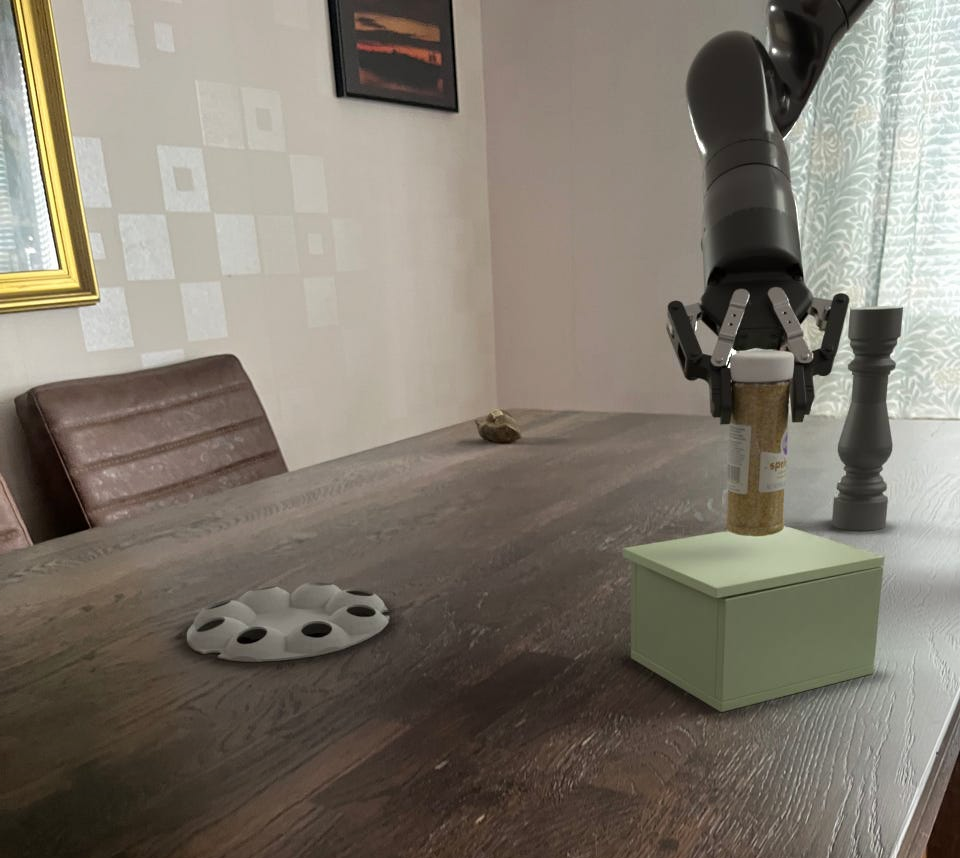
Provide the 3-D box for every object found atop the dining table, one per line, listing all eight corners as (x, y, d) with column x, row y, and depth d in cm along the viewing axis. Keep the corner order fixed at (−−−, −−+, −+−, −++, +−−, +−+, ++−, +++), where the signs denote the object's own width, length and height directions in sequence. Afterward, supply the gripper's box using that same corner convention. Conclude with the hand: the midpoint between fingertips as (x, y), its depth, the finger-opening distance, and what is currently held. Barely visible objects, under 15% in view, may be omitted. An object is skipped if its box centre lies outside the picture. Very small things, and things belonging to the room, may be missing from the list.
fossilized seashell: (464, 427, 193) (487, 443, 185) (481, 397, 192) (505, 411, 184) (493, 443, 197) (517, 459, 190) (510, 413, 196) (534, 427, 188)
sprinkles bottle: (787, 537, 76) (798, 354, 71) (725, 538, 76) (732, 356, 72) (780, 522, 80) (790, 348, 75) (721, 523, 81) (727, 350, 76)
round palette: (424, 630, 94) (422, 610, 93) (219, 679, 85) (215, 657, 84) (344, 581, 110) (342, 564, 109) (164, 618, 101) (161, 599, 101)
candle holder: (880, 532, 117) (900, 308, 108) (825, 528, 120) (841, 310, 112) (890, 520, 122) (910, 305, 113) (838, 516, 125) (854, 306, 117)
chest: (721, 712, 74) (725, 599, 71) (630, 658, 85) (630, 558, 82) (873, 673, 79) (883, 566, 76) (770, 627, 90) (775, 532, 87)
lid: (715, 598, 70) (716, 588, 70) (622, 557, 81) (622, 547, 81) (883, 566, 76) (884, 556, 76) (775, 531, 87) (775, 522, 87)
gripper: (661, 209, 78) (665, 388, 71) (853, 197, 76) (877, 380, 69) (657, 280, 84) (661, 449, 77) (833, 271, 82) (853, 444, 76)
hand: (763, 416), depth 73 cm, fingers closed on sprinkles bottle, 4 cm apart
